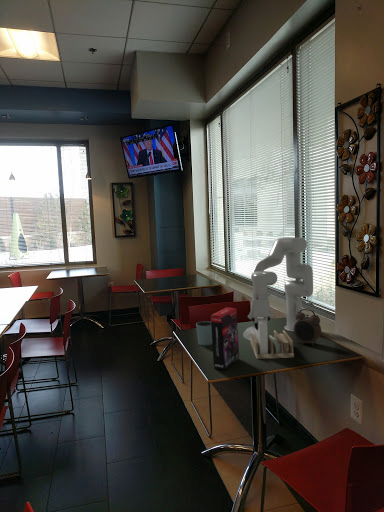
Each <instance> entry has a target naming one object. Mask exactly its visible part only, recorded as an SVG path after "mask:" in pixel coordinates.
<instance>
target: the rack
mask: <svg viewBox="0 0 384 512" xmlns="http://www.w3.org/2000/svg"><path fill="white" fill-rule="evenodd" d="M268 334H269V333H268V332H267V335H268ZM278 334H279V333H278V332H277V331H276V330H275V329H274V330H273V338H274V339H275V340H276V341H277V342H278V343H279V344H280V352H281V353H279V354H274V353H273V342H272V340H271V338H270V337H269V335H268V354H259V352H258V343H257V341H256V339H255V337H254V335H253V332H252V331H251V341H250V346H251V348H252V351H253V353H254V355H255V358H256V359H259V360H260V359H261V360H262V359H280V358H281V359H283V358H284V359H285V358H288V359H289V358H290V359H291V358H294V357H295V353H294V341H293V340H292V338H291V337H290V335H289V334H288V333H287V332H286V331H285V329H282V334H283V336H284V337H285V338H286V340H287V341H288V342H289V353H283V341H282V340H281V338H280V337H279V335H278Z"/></svg>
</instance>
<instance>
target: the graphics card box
mask: <svg viewBox="0 0 384 512" xmlns="http://www.w3.org/2000/svg"><path fill="white" fill-rule="evenodd" d="M237 310H238V309H237V308H234V307H224V308H222V309H220V310H219V311H217V312H215V313H213V314H211V315H210V322H211V329H212V344H211V345H212V355H213V356H212V357H213V358H212V359H213V368H214V369H217V370H222V371H225V370H227V369H228V368H229V367H231V366H232V365H233V364H234V363H235V362H237V361H238V360H239V359H240V349H239V348H240V347H239V329H238V313H237Z"/></svg>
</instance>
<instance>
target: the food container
mask: <svg viewBox="0 0 384 512" xmlns="http://www.w3.org/2000/svg"><path fill="white" fill-rule="evenodd" d="M251 331H252V332H253V335H254V337H255V325H252V326H249V327H247V328H246V329H245V330H244V332H243V333H242V336H243V338H244V339H245V340H248V341H250V342H251ZM268 335H269V333H268Z"/></svg>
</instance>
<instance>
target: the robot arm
mask: <svg viewBox="0 0 384 512" xmlns="http://www.w3.org/2000/svg"><path fill="white" fill-rule="evenodd" d="M307 247H308V243H307V240H306V239H305V238H304V237H278V238H277V239H275V241H274V243H273V244H272V246H271V249H270V251H269V253H268V255H267V256H265V257H264V258H263V259H261V260H260V261H258V262H257V263H256V264H255V266H254V267H253V268H254V269H253V270H252V272H251V276H250V280H251V282H252V298H251V302H250V312H249V314H248V315H247V318H248V319H249V320H251V321H252V322H253V324H254V327H255V328H256V330H258V323H257V318H258V317H264V319H265V320H266V322H267V323H269V321H271V319H272V318H274V314H273V312H272V311H271V306H270V300H269V297H271V294H270V293H268V287H269V286H273V285H275V284H276V283H277V281H278V274H277V273H275V272H274V271H268V270H267V269H270V268H273V267H276V266H279V265H280V264H282V262H283V260H284V258H285V263H286V264H285V268H286V269H285V270H286V276H287V278H289V279H294V280H288V281H286V282H285V284H284V293H285V299H286V300H285V301H286V325H284V331H285V330H286V331H288V332H294V325H295V323H296V322H297V321H298V320H296V314H298V312H300V310H302V309H303V302H302V299H301V298H300V297H304V298H305V297H306V298H307V297H308V298H309V297H311V296H312V295H313V293H314V275H313V274H314V271H313V268H312V266H311V265H310V264H307V263H305V264H304V263H301V256H300V253H303V252H305V251H306V250H307ZM266 270H267V271H266ZM301 313H303V310H302V311H301Z"/></svg>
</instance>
